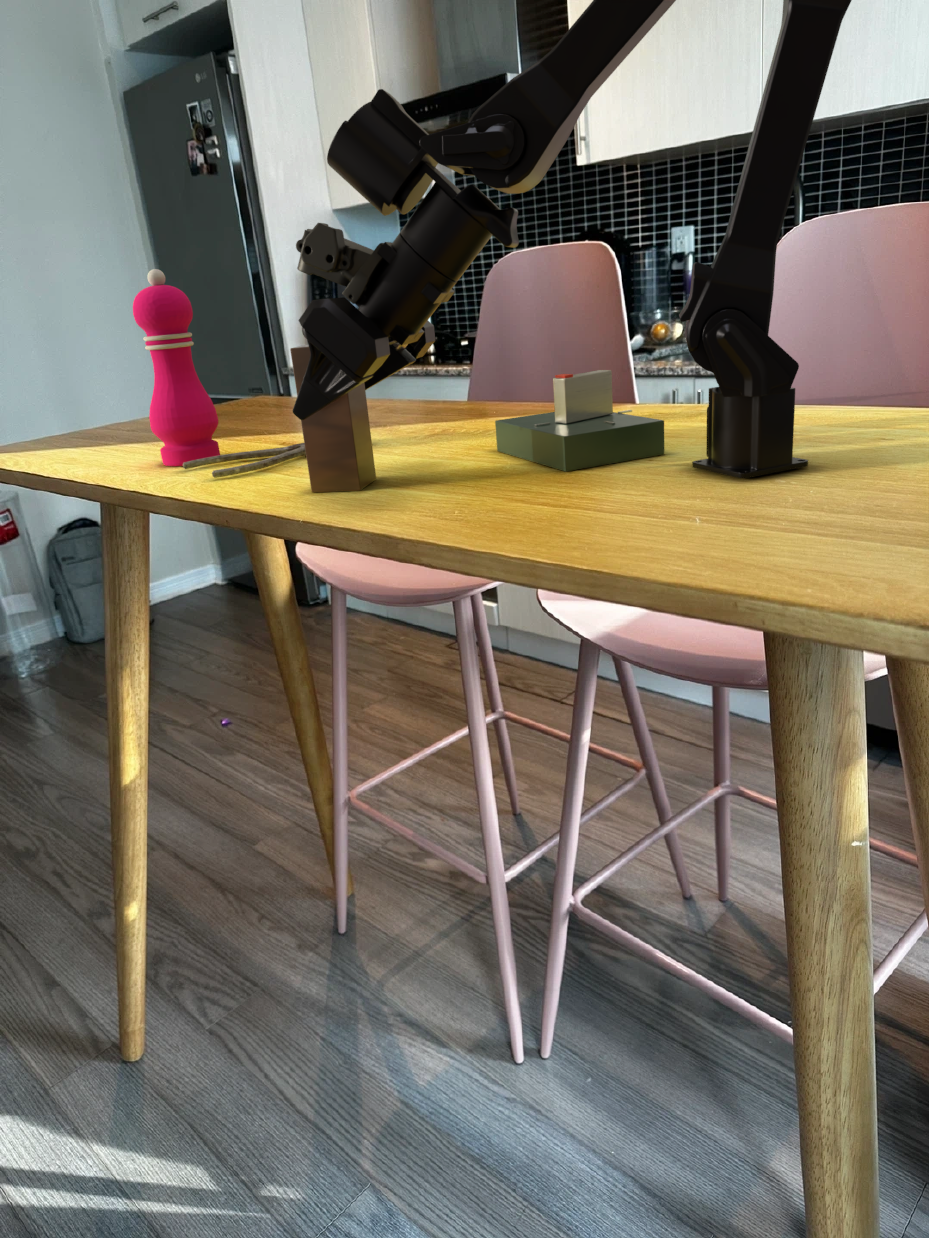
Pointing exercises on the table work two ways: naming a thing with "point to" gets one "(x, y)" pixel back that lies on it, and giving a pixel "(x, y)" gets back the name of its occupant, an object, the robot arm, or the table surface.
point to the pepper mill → (175, 375)
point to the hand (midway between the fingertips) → (318, 408)
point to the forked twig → (278, 453)
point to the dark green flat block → (580, 439)
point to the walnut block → (336, 437)
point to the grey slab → (582, 396)
